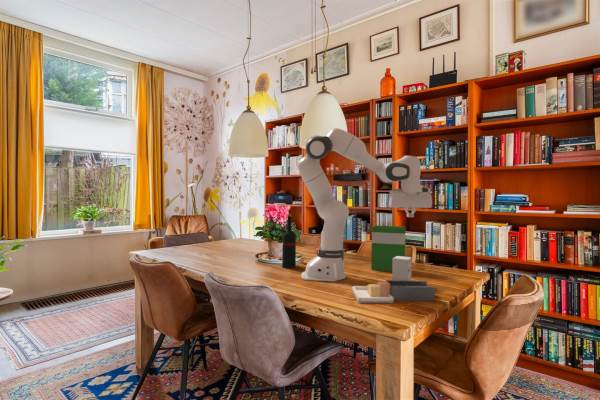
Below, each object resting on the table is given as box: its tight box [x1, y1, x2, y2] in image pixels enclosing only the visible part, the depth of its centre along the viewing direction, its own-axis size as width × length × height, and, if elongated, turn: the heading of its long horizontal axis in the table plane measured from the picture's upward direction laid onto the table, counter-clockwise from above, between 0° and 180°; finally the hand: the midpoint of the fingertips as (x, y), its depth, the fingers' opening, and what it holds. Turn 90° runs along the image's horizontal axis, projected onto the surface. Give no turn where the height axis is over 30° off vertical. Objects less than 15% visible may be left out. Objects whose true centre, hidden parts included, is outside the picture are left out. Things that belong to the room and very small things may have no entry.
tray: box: [351, 285, 395, 304], centre depth 140 cm, size 14×16×2 cm
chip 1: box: [367, 283, 380, 297], centre depth 139 cm, size 4×4×4 cm
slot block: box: [385, 279, 436, 302], centre depth 140 cm, size 17×10×6 cm, turn 90°
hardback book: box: [370, 225, 406, 272], centre depth 188 cm, size 18×7×24 cm, turn 75°
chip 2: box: [376, 280, 390, 294], centre depth 139 cm, size 4×4×4 cm
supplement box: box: [391, 256, 413, 281], centre depth 159 cm, size 7×7×13 cm
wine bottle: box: [281, 213, 297, 269], centre depth 193 cm, size 8×10×30 cm
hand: (410, 216), depth 166 cm, fingers closed
